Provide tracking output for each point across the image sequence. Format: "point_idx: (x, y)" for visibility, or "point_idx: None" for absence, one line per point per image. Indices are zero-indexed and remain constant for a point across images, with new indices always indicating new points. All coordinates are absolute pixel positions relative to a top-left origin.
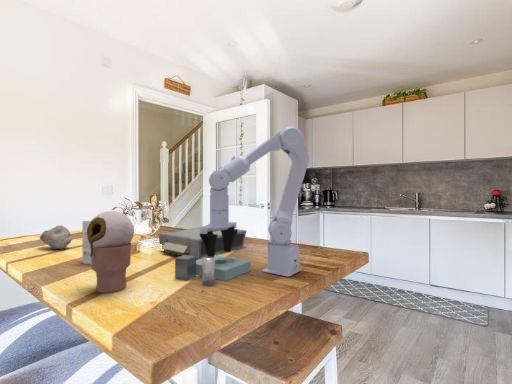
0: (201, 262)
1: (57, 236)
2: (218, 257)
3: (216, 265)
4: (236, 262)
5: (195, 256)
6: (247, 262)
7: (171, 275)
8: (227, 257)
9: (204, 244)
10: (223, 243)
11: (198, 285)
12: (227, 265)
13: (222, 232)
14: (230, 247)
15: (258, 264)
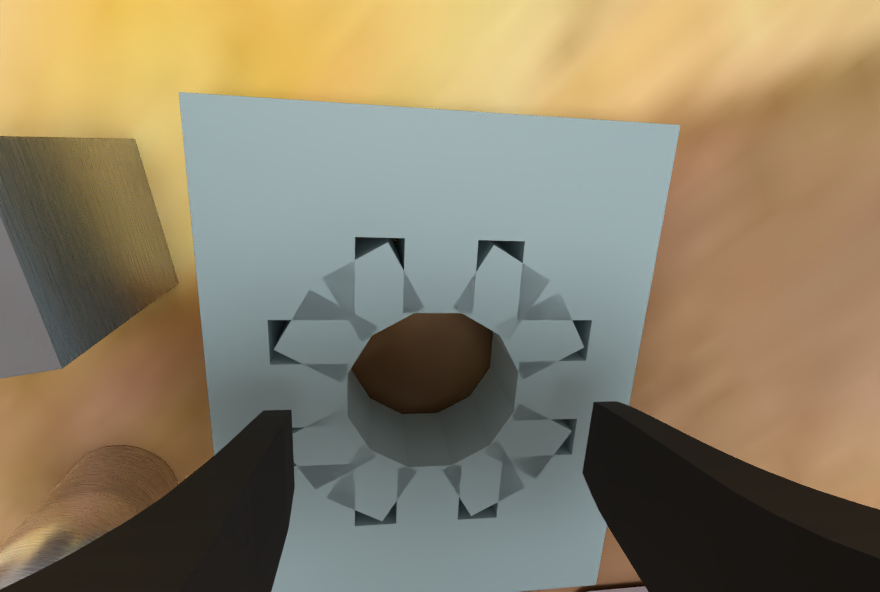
0: (295, 247)
1: None
2: (592, 252)
3: (306, 459)
4: (504, 525)
5: (47, 368)
6: (551, 588)
7: (9, 19)
8: (635, 336)
9: (148, 511)
10: (663, 446)
11: (33, 462)
12: (371, 532)
13: (850, 584)
14: (616, 533)
15: (749, 462)
